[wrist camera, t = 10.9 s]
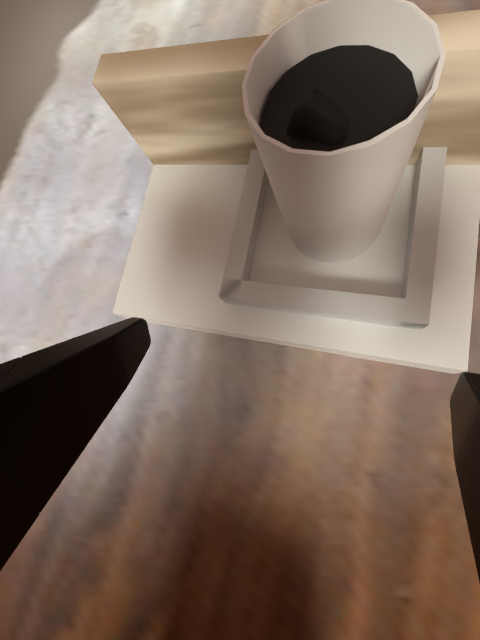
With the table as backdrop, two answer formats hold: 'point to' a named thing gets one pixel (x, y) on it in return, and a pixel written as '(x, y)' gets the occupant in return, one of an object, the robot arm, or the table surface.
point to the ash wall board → (228, 108)
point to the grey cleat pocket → (309, 266)
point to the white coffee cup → (341, 116)
